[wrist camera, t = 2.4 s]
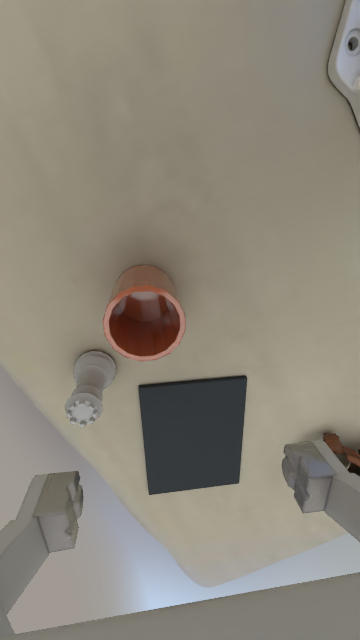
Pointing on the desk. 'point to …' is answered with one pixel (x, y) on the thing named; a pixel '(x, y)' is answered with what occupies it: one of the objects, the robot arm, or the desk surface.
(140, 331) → the pot
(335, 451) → the dark brown domed piece
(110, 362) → the rook chess piece
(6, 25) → the desk surface
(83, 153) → the desk surface
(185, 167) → the desk surface
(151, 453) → the mat
